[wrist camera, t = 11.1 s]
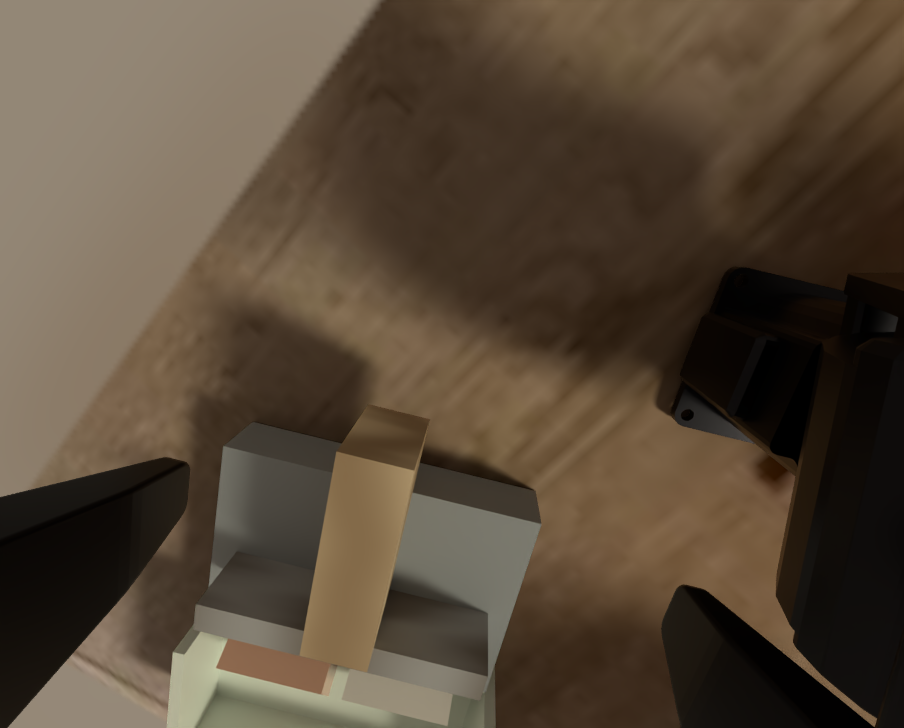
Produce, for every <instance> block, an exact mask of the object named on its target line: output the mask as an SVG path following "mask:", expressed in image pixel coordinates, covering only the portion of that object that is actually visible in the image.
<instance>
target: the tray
mask: <svg viewBox="0 0 904 728" xmlns="http://www.w3.org/2000/svg"><path fill="white" fill-rule="evenodd" d="M193 627H194V624H193V626H192V627H191V628H190V630H189V631H188V632H187V634H186V635H185V636H184V638H183V639H182V640H181V642H180V643H179V644H178V646H177V647H176V648H175V650H174V651H173V657H172V669H171V681H170V693H169V705H168V718H167V728H496V708H495V666H494V669H493V672H492V675H491V678H490V681H489V684H488V687H487V690H486V693H485V692H483V694H482V697H481V700H480V701H478V700H474V699H470V698H466V697H462V696H458V695H454V694H453V696H452V702H451V708H450V714H449V720H448V726H444V725H440V724H436V723H432V722H428V721H424V720H420V719H416V718H412V717H408V716H404V715H400V714H396V713H392V712H388V711H384V710H380V709H376V708H372V707H368V706H364V705H360V704H356V703H352V702H348V701H344V700H342V696H343V693H344V689H345V685H346V682H347V678H348V675H349V671H350V668H346V667H342V666H337V669H336V673H335V676H334V680H333V683H332V687H331V690H330V693H329V697H328V696H324V695H320V694H316V693H312V692H308V691H304V690H300V689H296V688H292V687H288V686H284V685H280V684H276V683H272V682H268V681H264V680H260V679H256V678H252V677H248V676H244V675H240V674H236V673H232V672H228V671H225V670H221V669H217V668H216V666H217V664H218V662H219V659H220V657H221V655H222V652H223V650H224V647H225V645H226V643H227V640H228V638H225V637H221V636H217V635H213V634H209V633H205V632H201V631H197V630H193Z"/></svg>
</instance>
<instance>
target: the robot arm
mask: <svg viewBox="0 0 904 728" xmlns="http://www.w3.org/2000/svg"><path fill="white" fill-rule="evenodd" d="M740 274H741V275H742V277H743V282H742V283H741V285H739V286H737V287H736V286H735V284H734V279H735V278H736V276H738V275H740ZM680 376H681V378H682V380H683V381H682V383H681V386H680V388H679V391H678V394H677V396H676V399H675V401H674V404H673V406H672V410H671V415H672V418H673V419H674V420H675V421H676V422H677V423H678V424H679V425H681V426H684V427H688V428H693V429H697V430H701V431H705V432H709V433H713V434H717V435H721V436H725V437H729V438H734V439H738V440H742V441H746V442H750V443H754V444H756V445H758V446H759V447H760V448H761V449H763V450H764V451H765V452H766V453H767V454H769V455H770V456H771V457H772V458H774V459H775V460H776V461H777V462H779V463H780V464H781V465H782V466H783V467H785V468H786V469H787V470H788V471H790V472H791V473H792V474H793V475H795V476H796V477H795V482H794V487H793V493H792V498H791V503H790V508H789V513H788V518H787V523H786V528H785V533H784V539H783V544H782V549H781V554H780V559H779V564H778V569H777V578H776V597H777V599H778V601H779V603H780V605H781V607H782V609H783V612H784V614H785V616H786V618H787V620H788V622H789V624H790V626H791V627H792V628H793V629H794V631H795V633H794V637H793V643H794V645H795V647H796V648H797V649H798V650H799V651H800V652H801V654H802V655H803V656H804V657H805V658H806V659H807V660H808V661H809V662H810V663H811V664H812V665H813V667H814V668H815V669H816V670H817V671H818V672H819V673H820V674H821V675H822V676H823V677H824V678H826V679H827V680H828V681H829V682H830V683H831V684H832V685H834V686H835V687H836V688H837V689H839V690H840V691H841V692H842V693H843V694H845V695H846V696H847V697H848V698H850V699H851V700H852V701H853V702H854V703H856V704H857V705H858V706H859V707H860V708H862V709H863V710H865V711H866V712H868V713H869V714H871V715H872V716H874V717H875V718H877V721H876V725H875V727H873V726H872V725H871V724H870V723H868V722H867V721H866V720H865V719H863V718H862V717H861V716H860V715H859V714H857V713H856V712H855V711H854V710H852V709H851V708H850V707H849V706H848V705H846V704H845V703H844V702H843V701H841V700H840V699H839V698H838V697H836V696H835V695H834V694H833V693H832V692H830V691H829V690H828V689H827V688H825V687H824V686H823V685H822V684H820V683H819V682H818V681H817V680H816V679H814V678H813V677H812V676H811V675H809V674H808V673H807V672H806V671H805V670H803V669H802V668H801V667H800V666H798V665H797V664H796V663H795V662H793V661H792V660H791V659H790V658H789V657H787V656H786V655H785V654H784V653H782V652H781V651H780V650H779V649H777V648H776V647H775V646H774V645H773V644H771V643H770V642H769V641H768V640H766V639H765V638H764V637H763V636H762V635H760V634H759V633H758V632H757V631H755V630H754V629H753V628H752V627H750V626H749V625H748V624H747V623H746V622H744V621H743V620H742V619H741V618H739V617H738V616H737V615H736V614H735V613H733V612H732V611H731V610H730V609H728V608H727V607H726V606H725V605H723V604H722V603H721V602H720V601H719V600H717V599H716V598H715V597H714V596H712V595H711V594H710V593H709V592H707V591H706V590H704V589H701V588H697V587H693V586H689V585H681V586H679V587H678V588H677V589H676V591H675V593H674V595H673V598H672V600H671V602H670V604H669V607H668V609H667V611H666V613H665V616H664V618H663V621H662V628H661V629H662V638H663V643H664V648H665V653H666V658H667V663H668V668H669V673H670V678H671V683H672V688H673V693H674V698H675V703H676V708H677V712H678V717H679V721H680V725H681V728H904V273H849V274H848V275H847V280H846V285H845V290H844V291H841V290H837V289H833V288H829V287H825V286H820V285H816V284H812V283H808V282H804V281H800V280H796V279H791V278H787V277H783V276H779V275H775V274H771V273H767V272H762V271H758V270H754V269H750V268H746V267H733V268H730V269H729V270H728V271H727V272H726V273H725V274H724V276H723V278H722V281H721V283H720V286H719V289H718V291H717V294H716V296H715V299H714V301H713V304H712V306H711V309H710V312H709V313H708V314H706V315H705V316H703V317H702V318H701V321H700V324H699V326H698V329H697V331H696V334H695V337H694V339H693V342H692V344H691V347H690V349H689V352H688V355H687V357H686V360H685V362H684V365H683V368H682V370H681V373H680ZM686 409H690V413H689V415H688V416H686V417H681V413H682V412H683V411H684V410H686ZM189 476H190V467H189V465H188V464H187V462H184V461H180V460H176V459H172V458H168V457H163V458H159V459H155V460H151V461H146V462H142V463H138V464H134V465H130V466H126V467H122V468H118V469H114V470H110V471H105V472H101V473H97V474H93V475H89V476H85V477H81V478H77V479H73V480H69V481H64V482H60V483H56V484H52V485H48V486H44V487H40V488H36V489H32V490H28V491H23V492H19V493H15V494H11V495H7V496H3V497H0V728H8V727H9V725H10V724H11V723H12V722H13V721H14V720H15V719H16V717H17V716H18V715H19V714H20V713H21V712H22V711H23V709H24V708H25V707H26V706H27V705H28V704H29V703H30V701H31V700H32V699H33V698H34V697H35V696H36V695H37V693H38V692H39V691H40V690H41V689H42V688H43V687H44V685H45V684H46V683H47V682H48V681H49V680H50V679H51V677H52V676H53V675H54V674H55V673H56V672H57V671H58V670H59V668H60V667H61V666H62V665H63V664H64V663H65V662H66V661H67V659H68V658H69V657H70V656H71V655H72V654H73V653H74V651H75V650H76V649H77V648H78V647H79V646H80V645H81V643H82V642H83V641H84V640H85V639H86V638H87V637H88V635H89V634H90V633H91V632H92V631H93V630H94V629H95V627H96V626H97V625H98V624H99V623H100V622H101V621H102V620H103V618H104V617H105V616H106V615H107V614H108V613H109V612H110V610H111V609H112V608H113V607H114V606H115V605H116V604H117V602H118V601H119V600H120V599H121V598H122V597H123V595H124V594H125V593H126V592H127V591H128V589H129V588H130V587H131V585H132V584H133V583H134V581H135V580H136V579H137V578H138V576H139V575H140V573H141V572H142V571H143V569H144V568H145V566H146V565H147V564H148V562H149V561H150V559H151V558H152V557H153V555H154V554H155V553H156V551H157V550H158V548H159V547H160V546H161V544H162V543H163V541H164V540H165V539H166V537H167V536H168V534H169V533H170V532H171V530H172V529H173V527H174V526H175V525H176V523H177V522H178V521H179V519H180V518H181V516H182V515H183V513H184V511H185V508H186V505H187V500H188V488H189Z"/></svg>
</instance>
